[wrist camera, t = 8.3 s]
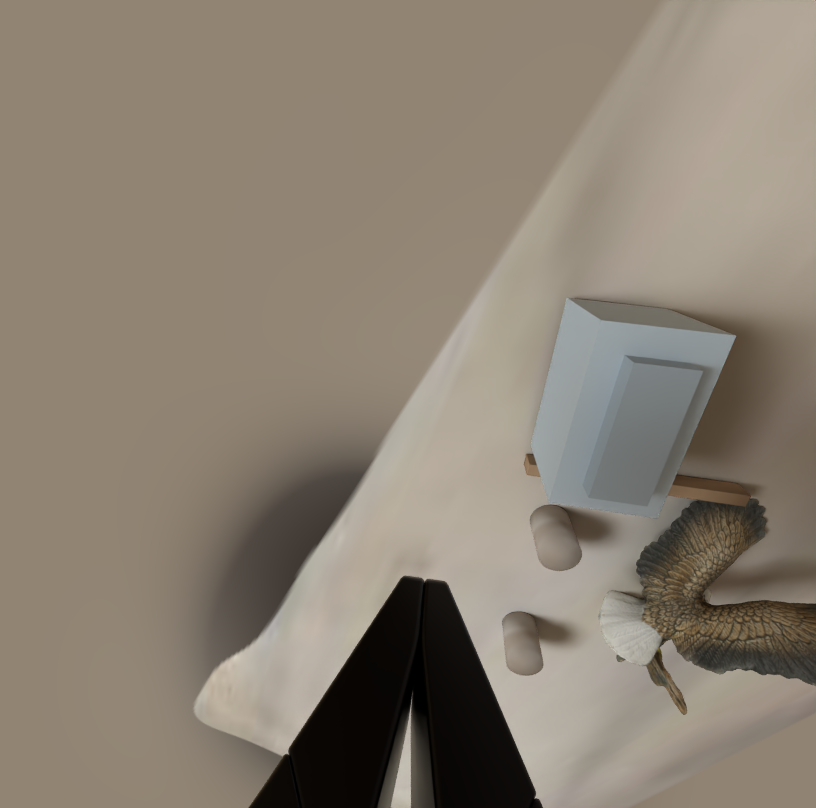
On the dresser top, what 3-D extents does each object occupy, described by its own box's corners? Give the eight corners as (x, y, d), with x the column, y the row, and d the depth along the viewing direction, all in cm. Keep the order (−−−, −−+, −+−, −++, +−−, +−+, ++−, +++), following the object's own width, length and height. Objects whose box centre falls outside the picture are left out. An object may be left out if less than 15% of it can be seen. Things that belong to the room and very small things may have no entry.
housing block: (667, 308, 16) (753, 342, 11) (615, 457, 19) (667, 533, 14) (567, 297, 17) (610, 325, 12) (530, 444, 19) (552, 516, 15)
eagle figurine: (690, 663, 23) (877, 605, 18) (673, 766, 17) (935, 724, 12) (593, 545, 25) (733, 466, 20) (552, 603, 20) (729, 514, 15)
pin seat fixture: (805, 350, 17) (859, 370, 14) (648, 657, 24) (667, 701, 22) (558, 322, 17) (573, 336, 15) (483, 628, 25) (485, 668, 23)
